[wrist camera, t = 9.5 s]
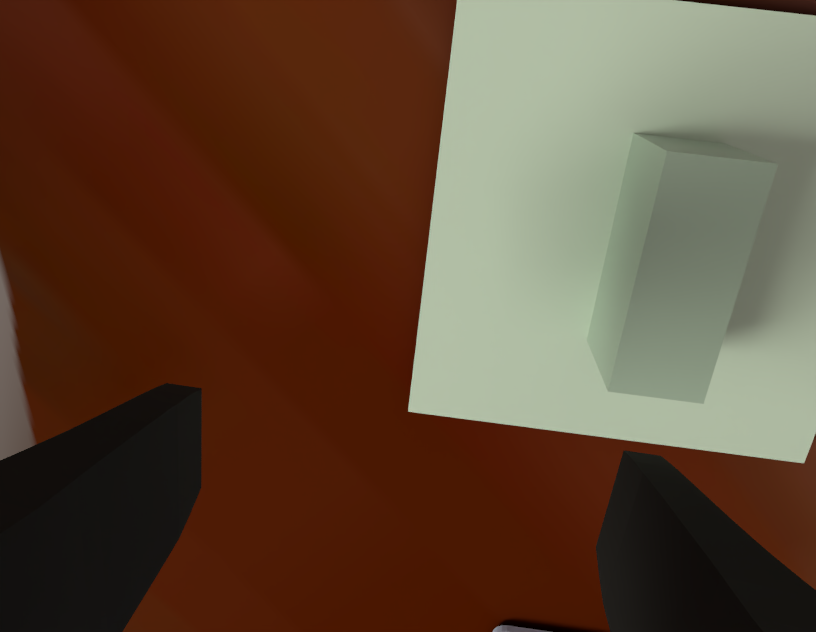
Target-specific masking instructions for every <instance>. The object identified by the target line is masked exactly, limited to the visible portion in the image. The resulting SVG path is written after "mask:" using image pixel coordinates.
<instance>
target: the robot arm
mask: <svg viewBox="0 0 816 632" xmlns="http://www.w3.org/2000/svg"><path fill="white" fill-rule="evenodd" d="M200 489H201V388H195V387H188V386H181V385H175V384H168V383H166V384H164V385H161V386H159V387H156V388H154V389H152V390H150V391H147V392H145V393H143V394H141V395H139V396H137V397H135V398H133V399H131V400H129V401H127V402H125V403H123V404H121V405H119V406H117V407H115V408H113V409H111V410H109V411H107V412H105V413H103V414H101V415H99V416H97V417H95V418H93V419H91V420H89V421H87V422H85V423H83V424H81V425H79V426H77V427H75V428H72V429H70V430H68V431H66V432H64V433H62V434H60V435H57V436H55V437H53V438H51V439H48V440H46V441H44V442H42V443H39V444H37V445H35V446H33V447H30V448H28V449H26V450H24V451H21V452H19V453H17V454H15V455H12V456H10V457H8V458H6V459H3V460H0V632H122V631H123V630H124V628H125V626H126V625H127V623H128V622H129V620H130V618H131V617H132V615H133V613H134V612H135V610H136V608H137V607H138V605H139V604H140V602H141V600H142V599H143V597H144V595H145V594H146V592H147V591H148V589H149V587H150V586H151V584H152V582H153V581H154V579H155V578H156V576H157V574H158V573H159V571H160V569H161V568H162V566H163V564H164V563H165V561H166V559H167V558H168V556H169V554H170V553H171V551H172V549H173V548H174V546H175V544H176V542H177V541H178V539H179V537H180V535H181V533H182V530H183V528H184V526H185V524H186V522H187V519H188V517H189V515H190V513H191V510H192V508H193V506H194V503H195V501H196V498H197V496H198V494H199V491H200ZM596 551H597V560H598V569H599V577H600V584H601V591H602V598H603V604H604V608H605V612H606V616H607V620H608V624H609V628H610V631H611V632H816V590H814V589H813V588H812V587H811V586H809V585H808V584H807V583H806V582H804V581H803V580H802V579H801V578H799V577H798V576H797V575H796V574H795V573H793V572H792V571H791V570H790V569H788V568H787V567H786V566H785V565H784V564H782V563H781V562H780V561H779V560H777V559H776V558H775V557H774V556H772V555H771V554H770V553H769V552H768V551H767V550H766V549H764V548H763V547H762V546H761V545H760V544H759V543H757V542H756V541H755V540H754V539H753V538H752V537H751V536H749V535H748V534H747V533H746V532H745V531H744V530H743V529H741V528H740V527H739V526H738V525H737V524H736V523H735V522H734V521H733V520H732V519H730V518H729V517H728V516H727V515H726V514H725V513H724V512H723V511H722V510H721V509H719V508H718V507H717V506H716V505H715V504H714V503H713V502H712V501H711V500H710V499H709V498H708V497H706V496H705V495H704V494H703V493H702V492H701V491H700V490H699V489H698V488H697V487H696V486H695V485H694V484H692V483H691V482H690V481H689V480H688V479H687V478H686V477H685V476H684V475H683V474H681V473H680V472H679V471H678V470H677V469H676V468H675V467H674V466H672V465H671V464H670V463H669V462H668V461H666V460H665V459H664V458H662V457H661V456H657V455H651V454H644V453H637V452H630V451H624V452H623V455H622V459H621V462H620V466H619V469H618V473H617V476H616V480H615V483H614V487H613V490H612V493H611V497H610V500H609V504H608V507H607V511H606V514H605V518H604V521H603V525H602V528H601V532H600V535H599V538H598V542H597V545H596ZM493 632H551V631H544V630H536V629H529V628H522V627H515V626H508V625H501V626H498V627H496V628H495V629H494V630H493Z"/></svg>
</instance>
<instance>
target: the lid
mask: <svg viewBox="0 0 816 632" xmlns="http://www.w3.org/2000/svg"><path fill="white" fill-rule="evenodd" d="M408 412H415V413H423V414H431V415H438V416H446V417H454V418H461V419H469V420H477V421H484V422H492V423H500V424H507V425H515V426H523V427H530V428H538V429H546V430H553V431H561V432H568V433H576V434H584V435H591V436H599V437H607V438H614V439H622V440H630V441H637V442H645V443H653V444H660V445H668V446H676V447H683V448H691V449H699V450H706V451H714V452H722V453H729V454H737V455H744V456H752V457H760V458H767V459H775V460H783V461H790V462H798V463H804V462H805V459H806V457H807V454H808V451H809V449H810V446H811V444H812V441H813V439H814V436H815V434H816V16H814V15H805V14H796V13H787V12H778V11H768V10H759V9H750V8H741V7H732V6H723V5H714V4H704V3H695V2H686V1H677V0H457V7H456V15H455V24H454V32H453V40H452V49H451V57H450V65H449V74H448V82H447V90H446V99H445V107H444V116H443V124H442V132H441V141H440V149H439V157H438V166H437V174H436V182H435V191H434V199H433V207H432V216H431V224H430V233H429V241H428V249H427V258H426V266H425V274H424V283H423V291H422V299H421V308H420V316H419V325H418V333H417V341H416V350H415V358H414V366H413V375H412V383H411V391H410V400H409V408H408Z"/></svg>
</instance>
